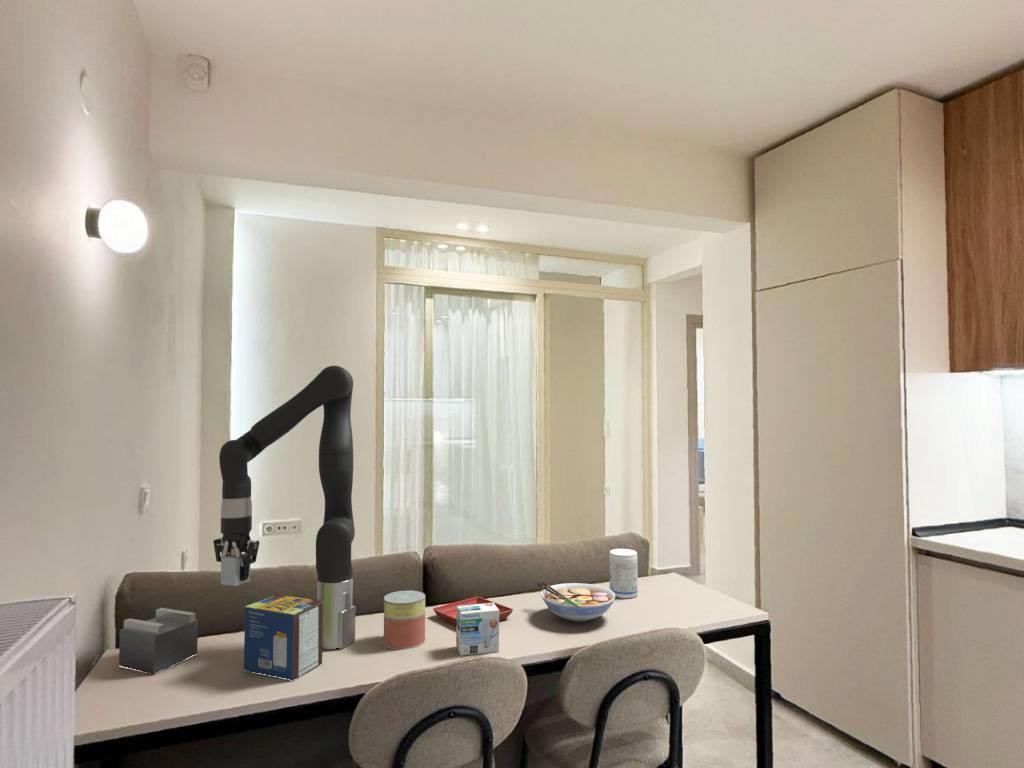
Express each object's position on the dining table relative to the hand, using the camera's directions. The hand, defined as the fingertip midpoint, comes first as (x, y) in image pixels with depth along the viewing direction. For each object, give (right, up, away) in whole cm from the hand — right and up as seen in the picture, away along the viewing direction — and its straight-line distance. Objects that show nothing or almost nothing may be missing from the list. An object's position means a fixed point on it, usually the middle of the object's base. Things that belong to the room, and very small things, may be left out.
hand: (235, 578), depth 153 cm
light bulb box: (+64, -18, -1) cm, 67 cm away
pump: (0, -1, 0) cm, 1 cm away
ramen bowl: (+93, -20, +22) cm, 98 cm away
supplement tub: (+112, -21, +45) cm, 122 cm away
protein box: (+17, -18, -12) cm, 28 cm away
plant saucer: (+61, -20, +23) cm, 69 cm away
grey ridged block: (-15, -18, -8) cm, 25 cm away
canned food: (+44, -19, +5) cm, 48 cm away
